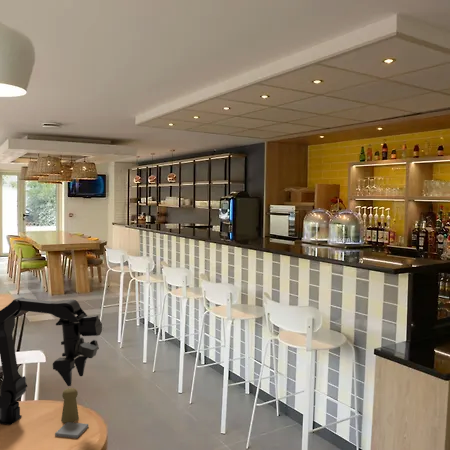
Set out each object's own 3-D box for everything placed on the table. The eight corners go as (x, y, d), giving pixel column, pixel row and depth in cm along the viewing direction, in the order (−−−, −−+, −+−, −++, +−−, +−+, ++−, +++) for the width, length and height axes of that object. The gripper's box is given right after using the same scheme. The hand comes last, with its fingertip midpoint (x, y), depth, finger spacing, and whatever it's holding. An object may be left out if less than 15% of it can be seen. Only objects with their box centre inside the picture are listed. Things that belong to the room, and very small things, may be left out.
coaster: (55, 436, 153) (55, 433, 153) (67, 424, 161) (67, 421, 161) (77, 438, 152) (77, 435, 152) (88, 426, 160) (88, 424, 160)
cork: (73, 424, 162) (73, 393, 161) (57, 422, 163) (57, 391, 162) (81, 416, 168) (81, 386, 167) (66, 414, 169) (66, 385, 168)
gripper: (82, 343, 149) (86, 390, 150) (104, 328, 168) (107, 370, 168) (49, 344, 151) (54, 391, 151) (75, 330, 169) (79, 371, 169)
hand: (75, 380), depth 160 cm, fingers open, 9 cm apart
